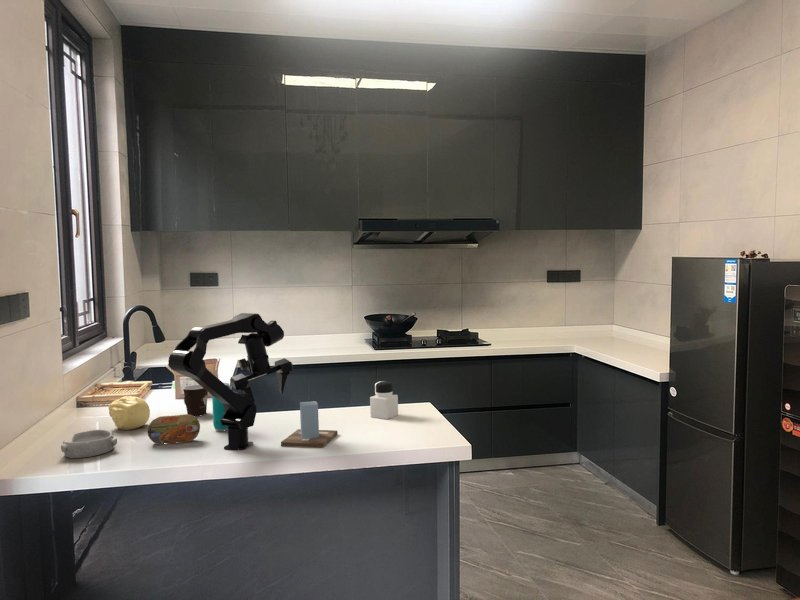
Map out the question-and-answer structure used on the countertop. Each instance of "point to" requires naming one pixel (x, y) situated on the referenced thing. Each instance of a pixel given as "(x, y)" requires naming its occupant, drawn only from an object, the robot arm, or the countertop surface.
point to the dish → (89, 444)
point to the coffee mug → (195, 400)
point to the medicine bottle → (384, 401)
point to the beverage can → (218, 413)
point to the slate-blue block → (309, 420)
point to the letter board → (309, 439)
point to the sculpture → (129, 412)
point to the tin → (174, 429)
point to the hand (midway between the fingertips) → (268, 398)
